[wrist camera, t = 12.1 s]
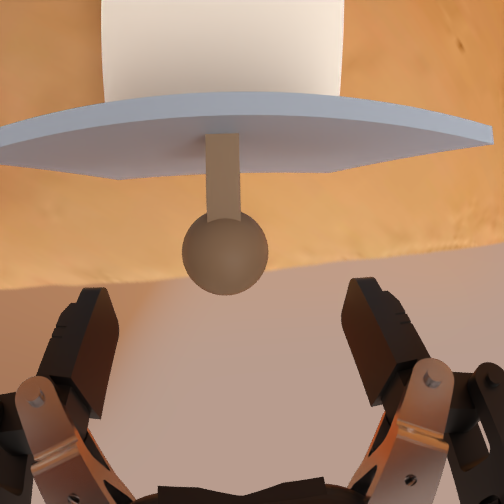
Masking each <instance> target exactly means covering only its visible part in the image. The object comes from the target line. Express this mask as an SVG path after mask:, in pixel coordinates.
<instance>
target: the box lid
mask: <svg viewBox="0 0 504 504" xmlns="http://www.w3.org/2000/svg"><path fill="white" fill-rule="evenodd" d="M492 144H494V141H493V131H492V126H489V125H485V124H482V123H478V122H475V121H471V120H467V119H463V118H460V117H456V116H452V115H447V114H443V113H439V112H434V111H430V110H425V109H420V108H415V107H410V106H404V105H399V104H393V103H387V102H380V101H373V100H366V99H358V98H350V97H341V96H331V95H319V94H305V93H287V92H206V93H187V94H173V95H162V96H152V97H143V98H134V99H127V100H120V101H113V102H106V103H100V104H94V105H89V106H83V107H78V108H73V109H68V110H64V111H59V112H54V113H50V114H46V115H42V116H38V117H34V118H30V119H26V120H23V121H19V122H15V123H12V124H9V125H5V126H2V127H0V165H10V166H19V167H28V168H36V169H44V170H52V171H60V172H67V173H75V174H82V175H89V176H96V177H103V178H109V179H116V180H122V179H134V178H146V177H160V176H176V175H195V174H206V199H207V213H206V214H204V215H202V216H201V217H200V218H198V219H197V220H196V221H195V222H194V223H193V224H192V225H191V227H190V228H189V230H188V231H187V233H186V236H185V238H184V242H183V247H182V258H183V263H184V266H185V269H186V271H187V273H188V275H189V276H190V278H191V279H192V280H193V281H194V282H195V283H196V284H197V285H198V286H199V287H201V288H202V289H204V290H205V291H207V292H210V293H213V294H217V295H234V294H238V293H240V292H243V291H245V290H247V289H249V288H250V287H251V286H252V285H254V284H255V283H256V282H257V280H259V278H260V277H261V275H262V274H263V272H264V270H265V267H266V264H267V260H268V244H267V240H266V237H265V234H264V233H263V231H262V229H261V228H260V226H259V225H258V224H257V223H256V221H255V220H253V219H252V218H251V217H249V216H248V215H246V214H244V213H242V212H241V203H240V173H268V172H294V173H331V172H336V171H340V170H345V169H350V168H355V167H360V166H365V165H370V164H375V163H380V162H385V161H391V160H396V159H402V158H407V157H413V156H419V155H425V154H431V153H437V152H443V151H449V150H456V149H463V148H470V147H477V146H484V145H492Z"/></svg>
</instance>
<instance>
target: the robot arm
mask: <svg viewBox="0 0 504 504" xmlns="http://www.w3.org/2000/svg"><path fill="white" fill-rule="evenodd" d="M341 322H342V328H343V331H344V333H345V336H346V339H347V341H348V344H349V347H350V349H351V352H352V354H353V357H354V360H355V363H356V366H357V368H358V371H359V374H360V377H361V379H362V382H363V385H364V388H365V391H366V394H367V396H368V399H369V402H370V405H371V407H373V406H377V405H382V404H383V407H384V409H385V412H384V413H383V415H382V417H381V420H380V423H379V425H378V427H377V430H376V432H375V435H374V437H373V439H372V442H371V444H370V446H369V449H368V451H367V453H366V455H365V457H364V459H363V461H362V463H361V465H360V466H359V468H358V469H357V471H356V472H355V474H354V476H353V477H352V479H351V481H350V483H349V485H348V486H347V488H346V487H342V486H338V485H332V484H325V482H324V477H319V478H313V479H307V480H300V481H293V482H285V483H281V484H279V485H276V486H273V487H270V488H267V489H264V490H261V491H258V492H254V493H251V494H248V495H244V496H237V495H232V494H226V493H221V492H216V491H212V490H207V489H203V488H198V487H197V488H195V487H169V486H158V493H156V494H151V495H148V496H145V497H142V498H140V499H137V500H136V499H135V497H134V496H133V495H132V493H131V492H130V491H129V489H128V488H127V487H126V486H125V484H124V483H123V482H122V481H121V480H120V479H119V477H118V476H117V475H116V474H115V472H114V471H113V469H112V468H111V466H110V464H109V463H108V461H107V460H106V458H105V456H104V455H103V453H102V451H101V450H100V448H99V446H98V444H97V443H96V441H95V439H94V437H93V436H92V434H91V432H90V430H89V429H88V422H89V418H93V419H101V416H102V411H103V405H104V400H105V395H106V390H107V385H108V381H109V376H110V372H111V367H112V363H113V358H114V354H115V350H116V346H117V342H118V337H119V325H118V320H117V317H116V314H115V311H114V308H113V306H112V303H111V300H110V297H109V294H108V291H107V289H106V288H104V287H103V288H83V289H82V291H81V293H80V296H79V298H78V300H77V302H76V303H71V304H70V305H69V306H68V307H67V308H66V309H65V310H64V311H63V312H62V313H61V315H60V317H59V319H58V322H57V324H56V328H55V329H54V331H53V333H52V338H51V339H50V341H49V343H48V346H47V348H46V351H45V353H44V356H43V359H42V361H41V364H40V367H39V369H38V372H37V375H36V376H34V377H31V378H28V379H27V380H25V381H24V382H23V383H22V384H21V385H20V386H19V388H18V389H17V391H16V392H13V393H8V394H2V395H0V504H31V496H32V485H33V477H34V480H35V482H36V484H37V486H38V489H39V491H40V493H41V495H42V497H43V499H44V501H45V503H46V504H432V503H433V500H434V497H435V494H436V491H437V488H438V485H439V482H440V479H441V476H442V472H443V469H444V465H445V461H446V458H448V461H449V464H450V467H451V471H452V474H453V478H454V481H455V485H456V489H457V492H458V496H459V500H460V504H504V371H503V369H502V368H500V367H499V366H498V365H496V364H494V363H489V362H486V363H482V364H481V365H479V367H478V368H477V369H476V370H475V372H474V373H462V372H461V373H460V372H452V371H451V369H450V368H449V367H448V366H447V365H446V364H445V363H443V362H442V361H440V360H438V359H434V358H431V357H430V355H429V354H428V352H427V350H426V348H425V346H424V344H423V342H422V341H421V339H420V337H419V335H418V333H417V332H416V330H415V328H414V326H413V324H411V321H410V319H409V317H408V315H407V314H405V310H404V309H403V307H402V305H401V303H400V302H399V300H397V298H395V297H394V296H393V295H392V294H391V293H390V292H388V291H382V289H381V288H380V286H379V284H378V282H377V281H376V279H375V278H374V277H365V278H352V279H351V280H350V283H349V286H348V290H347V294H346V298H345V301H344V305H343V309H342V313H341ZM479 421H481V423H482V426H483V428H484V431H485V433H486V436H487V439H488V441H489V444H490V453H489V452H488V449H487V446H486V444H485V441H484V438H483V435H482V433H481V430H480V428H479V425H478V422H479Z"/></svg>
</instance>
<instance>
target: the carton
mask: <svg viewBox="0 0 504 504" xmlns="http://www.w3.org/2000/svg"><path fill="white" fill-rule="evenodd" d="M343 26H344V0H102V2H101V41H102V68H103V84H104V97H105V103H106V102H113V101H120V100H127V99H134V98H143V97H152V96H162V95H173V94H187V93H206V92H287V93H305V94H319V95H331V96H340V83H341V67H342V49H343Z"/></svg>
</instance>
